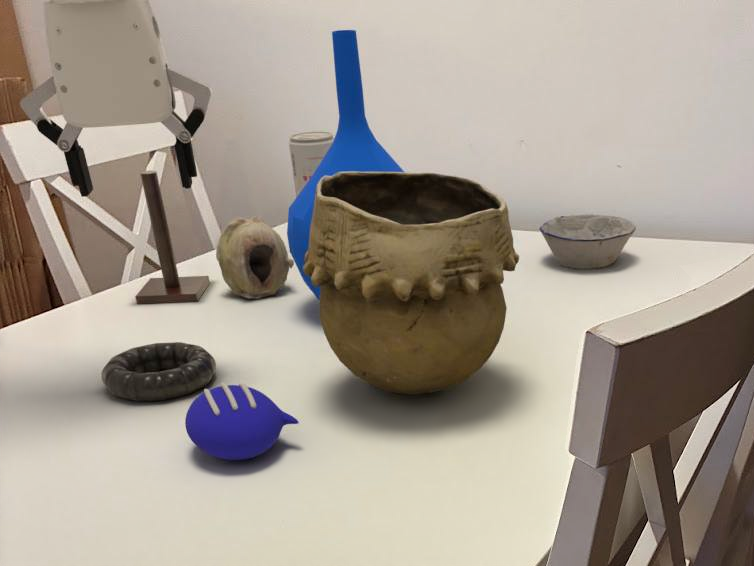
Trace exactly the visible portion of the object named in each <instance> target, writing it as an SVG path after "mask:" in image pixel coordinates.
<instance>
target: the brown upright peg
mask: <svg viewBox="0 0 754 566" xmlns="http://www.w3.org/2000/svg"><path fill="white" fill-rule="evenodd" d="M139 174H140V179H141V184H142V189H143V193H144V197H145V202H146V206H147V211H148V215H149V221H150V224H151V227H152V228H151V230H152V234H153V238H154V243H155V248H156V252H157V257H158V261H159V265H160V271H161V274H162V277H150V278H149V279H148V280H147V282H146V283H145V284H144V285H143V286H142V288H141V289H140V290H139V291H138V293H137V294H136V295H135V301H136V304H137V305H141V304H143V305H144V304H146V305H147V304H168V303H169V304H170V303H191V302H192V303H193V302H199V300H200V299H201V297H202V296H203V294H204V292H205V291H206V289H207V288H208V287H209V285H210V283H211V282H210V277H209V275H193V276H192V275H191V276H179V272H178V267H177V262H176V257H175V252H174V248H173V244H172V238H171V234H170V229H169V226H168V225H169V224H168V220H167V215H166V210H165V205H164V200H163V196H162V191H161V186H160V182H159V176H158V172H157V170H144V171H141V172H140V173H139Z"/></svg>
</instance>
